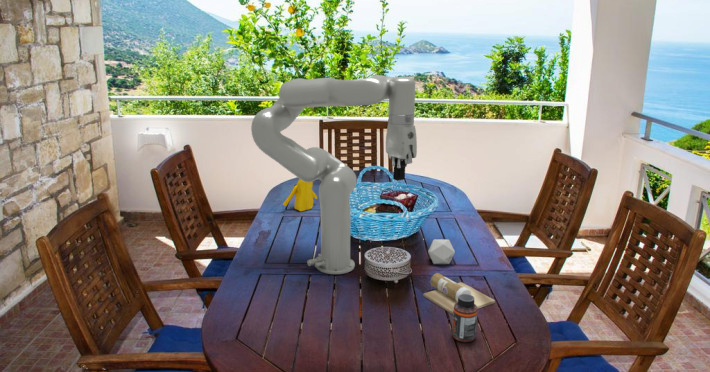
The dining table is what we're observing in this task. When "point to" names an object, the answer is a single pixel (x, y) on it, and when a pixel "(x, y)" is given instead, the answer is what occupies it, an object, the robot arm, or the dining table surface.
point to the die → (441, 251)
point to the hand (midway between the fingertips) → (399, 179)
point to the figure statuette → (302, 196)
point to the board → (449, 302)
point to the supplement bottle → (464, 318)
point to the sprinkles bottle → (448, 286)
